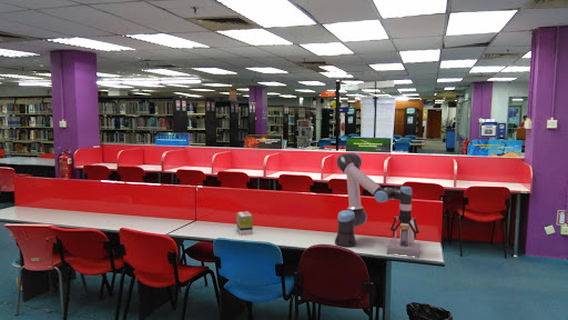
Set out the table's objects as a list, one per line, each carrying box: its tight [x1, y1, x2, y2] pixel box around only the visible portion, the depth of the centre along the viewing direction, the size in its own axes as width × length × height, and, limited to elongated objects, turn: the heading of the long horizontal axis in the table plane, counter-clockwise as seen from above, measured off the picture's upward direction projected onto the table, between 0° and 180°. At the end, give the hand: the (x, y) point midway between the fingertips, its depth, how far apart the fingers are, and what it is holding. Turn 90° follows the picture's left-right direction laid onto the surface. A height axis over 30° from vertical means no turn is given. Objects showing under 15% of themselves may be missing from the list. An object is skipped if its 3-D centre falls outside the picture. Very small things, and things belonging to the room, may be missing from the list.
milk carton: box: [399, 220, 416, 243], centre depth 279 cm, size 7×7×19 cm
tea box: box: [236, 211, 254, 236], centre depth 304 cm, size 15×10×15 cm, turn 17°
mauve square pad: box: [386, 239, 421, 258], centre depth 262 cm, size 20×20×6 cm
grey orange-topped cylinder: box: [399, 224, 409, 246], centre depth 262 cm, size 6×6×18 cm
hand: (404, 241), depth 262 cm, fingers open, 11 cm apart
